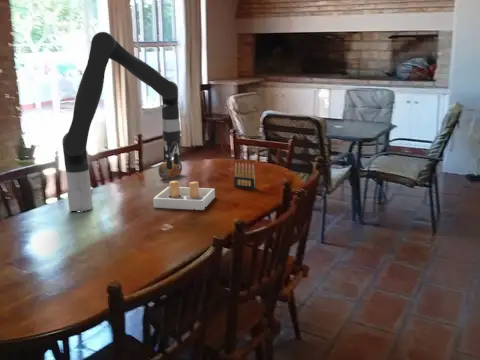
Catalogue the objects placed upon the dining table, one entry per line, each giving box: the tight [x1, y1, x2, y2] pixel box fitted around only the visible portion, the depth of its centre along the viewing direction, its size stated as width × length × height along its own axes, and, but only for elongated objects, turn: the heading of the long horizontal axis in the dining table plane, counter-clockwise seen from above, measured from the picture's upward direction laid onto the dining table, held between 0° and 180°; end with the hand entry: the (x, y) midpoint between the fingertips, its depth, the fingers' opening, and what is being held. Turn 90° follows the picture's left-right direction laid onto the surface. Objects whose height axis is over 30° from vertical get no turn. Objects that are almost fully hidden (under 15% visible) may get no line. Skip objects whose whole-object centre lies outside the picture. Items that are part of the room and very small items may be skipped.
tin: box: [158, 159, 183, 180], centre depth 277 cm, size 15×3×8 cm, turn 143°
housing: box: [152, 181, 216, 211], centre depth 236 cm, size 18×22×9 cm
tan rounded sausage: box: [169, 180, 180, 198], centre depth 237 cm, size 4×4×8 cm
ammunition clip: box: [233, 162, 257, 190], centre depth 255 cm, size 11×2×12 cm, turn 64°
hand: (173, 166), depth 234 cm, fingers open, 8 cm apart
